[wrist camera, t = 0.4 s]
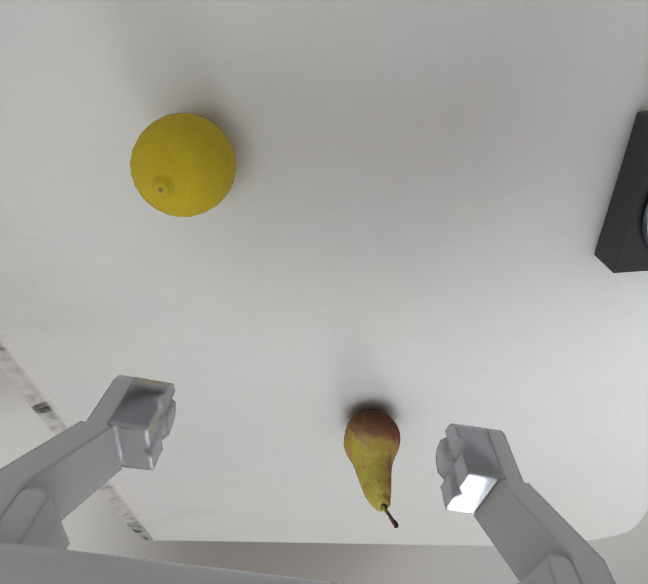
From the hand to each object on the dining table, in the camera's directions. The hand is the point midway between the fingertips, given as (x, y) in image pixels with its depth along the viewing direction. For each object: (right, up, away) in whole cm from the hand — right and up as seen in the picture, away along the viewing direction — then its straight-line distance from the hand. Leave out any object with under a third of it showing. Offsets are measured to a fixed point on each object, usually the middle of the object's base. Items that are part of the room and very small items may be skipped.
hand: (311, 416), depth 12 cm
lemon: (-8, +13, +15) cm, 22 cm away
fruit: (+5, -9, +30) cm, 32 cm away
